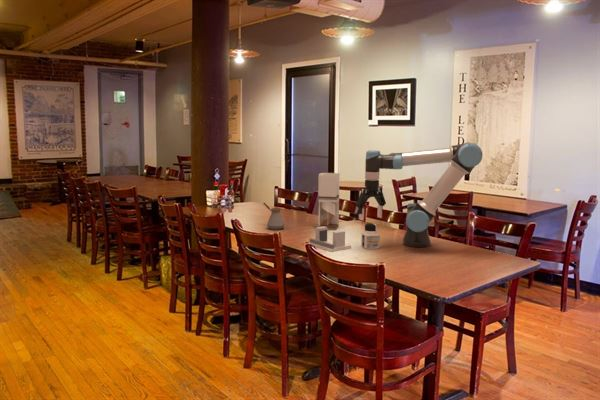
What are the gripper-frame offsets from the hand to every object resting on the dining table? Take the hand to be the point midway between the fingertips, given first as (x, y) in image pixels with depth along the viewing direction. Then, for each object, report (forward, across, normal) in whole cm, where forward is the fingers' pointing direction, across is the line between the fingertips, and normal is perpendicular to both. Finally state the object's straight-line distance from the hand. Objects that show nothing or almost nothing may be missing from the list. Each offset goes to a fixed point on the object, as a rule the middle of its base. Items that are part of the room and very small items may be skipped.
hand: (370, 218), depth 283 cm
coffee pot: (+17, +13, -76) cm, 78 cm away
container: (+16, 0, 0) cm, 16 cm away
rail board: (+16, +17, -14) cm, 27 cm away
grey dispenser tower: (+16, -15, -53) cm, 57 cm away
